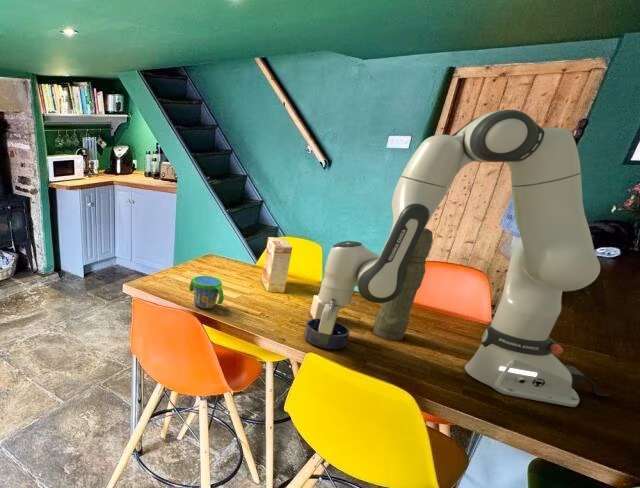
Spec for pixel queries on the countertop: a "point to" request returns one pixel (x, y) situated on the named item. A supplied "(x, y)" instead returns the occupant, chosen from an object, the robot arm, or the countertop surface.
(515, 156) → the robot arm
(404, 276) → the olive grey tall cylinder
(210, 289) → the snack cup
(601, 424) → the countertop surface
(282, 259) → the coffeecake box
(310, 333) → the bowl
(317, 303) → the medicine bottle
